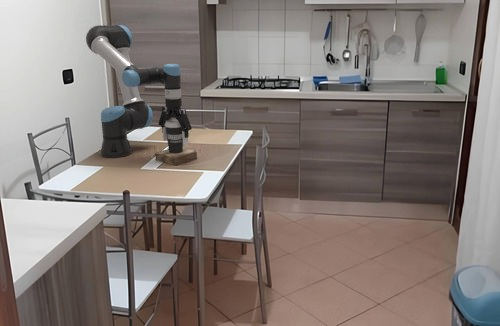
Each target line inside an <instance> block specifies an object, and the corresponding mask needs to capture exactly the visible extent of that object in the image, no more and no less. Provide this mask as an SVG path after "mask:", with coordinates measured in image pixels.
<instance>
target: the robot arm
mask: <svg viewBox="0 0 500 326" xmlns="http://www.w3.org/2000/svg"><path fill="white" fill-rule="evenodd" d="M85 42H86V45H87V46H88V49H89V50H91V52H93V54H96V55H99V56H100V57H101V58H102V59H104V61H105V62H107V64H109V65H110V66H111V67H112V68H113V69H114V70H115V74H116V78H117V81H118V84H119V85H118V86H119V88H120V93H121V96H122V100H123V103H122V105H115V106H109V107H105V108H104V109H102V111H101V112H100V122H101V131H102V132H101V133H102V143H101V148H100V156H101V157H104V158H121V157H126V156H129V155H131V154H132V152H133V150H132V147H131V144H130V141H129V138H128V132H129V131H135V130H141V129H142V130H143V129H144V128H148V127H149V126H151V124H152V122H153V116H154V115H153V114H154V113H153V111H152V108H151V107H150V105H148V104H146V102H145V100H144V99H142V98H141V96H140V95H141V94H140V90H139V87H141V86H150V85H157V84H160V85H161V84H162V85H164V98H165V99H164V101H165V106H163V107H162V106H161V114H160V116H159V120H158V126H161V133H162V140H163V141H164V142H165V141H167V134H166V127H165V126H164V125H165V123H166V121H167V120H171V119H172V118H173V119H177V120H178V122H179V123H180V125H181V127H182V129H183V131H182V135H183V146H185V145H189V136H190V135H189V131H190V130H192V125H191V123H190V120H189V117H188V114H187V109H182V108H181V107H182V103H183V101H182V100H183V99H182V82H181V81H182V80H181V79H182V78H181V75H182V74H181V67H180V65H179V63H167V64H164V65H163V67H159V66H151V67H148V68H146V67H145V68H138V67H137V66H136V65H135V64H134V63H132V62H131V57H130V54H129V53H130V50H131V47H132V45H133V36H132V32H131V31H130V30H129V28H128V27H126V26H125V25H119V24H114V25H112V24H110V25H100V24H99V25H95V26H92V27H91V28H89V30H88V31H87V32H86V35H85Z"/></svg>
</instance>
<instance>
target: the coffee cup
mask: <svg viewBox="0 0 500 326" xmlns="http://www.w3.org/2000/svg"><path fill="white" fill-rule="evenodd" d="M164 126H165V127H166V134H167V140H166V141H167V147H168V148H167V149H169V152H170V153H181V152H183V148H184V145H183V135H182V131H183V129H182V127H181V125H180V123H179V122H178V120H177V119H176V118H173V119H172V118H171V119H170V120H167V121H166V123H165V125H164Z"/></svg>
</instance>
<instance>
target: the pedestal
mask: <svg viewBox="0 0 500 326" xmlns="http://www.w3.org/2000/svg"><path fill="white" fill-rule="evenodd" d="M154 156H155V161H157V162H161V163H164V164H168V165H172V166H179V165H183V164H186V163H188V162H192V161H194V160H198V153H197V151H195V150H193V149H188V148H184V147H183V152H181V153H170V152H169V148H167V149H164V150H161V151H156V153H155V155H154Z"/></svg>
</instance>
